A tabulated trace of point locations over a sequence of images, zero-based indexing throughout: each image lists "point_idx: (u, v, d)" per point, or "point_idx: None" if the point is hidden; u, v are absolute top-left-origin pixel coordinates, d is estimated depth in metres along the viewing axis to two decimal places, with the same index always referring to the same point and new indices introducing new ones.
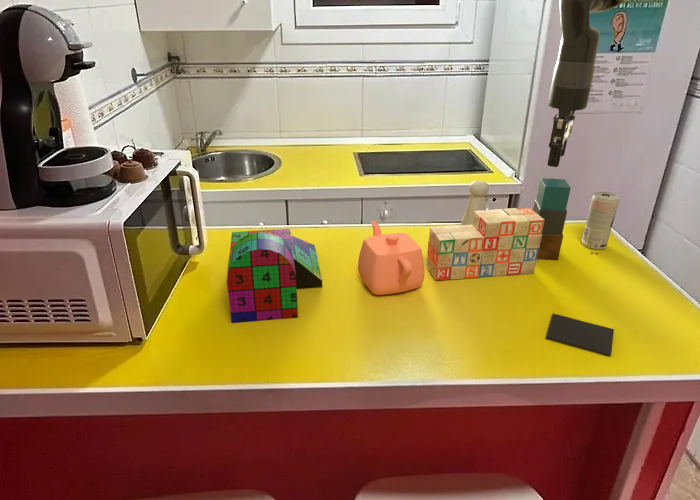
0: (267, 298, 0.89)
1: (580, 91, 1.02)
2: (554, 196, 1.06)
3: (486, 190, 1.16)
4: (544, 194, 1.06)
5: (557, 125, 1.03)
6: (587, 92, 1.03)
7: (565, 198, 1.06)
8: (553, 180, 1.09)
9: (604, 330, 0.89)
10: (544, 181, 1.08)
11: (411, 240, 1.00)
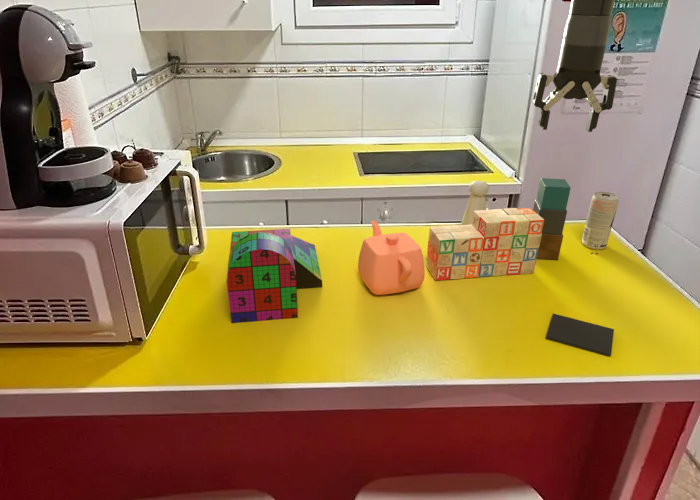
0: (267, 298, 0.89)
1: (569, 47, 0.93)
2: (554, 196, 1.06)
3: (486, 190, 1.16)
4: (544, 194, 1.06)
5: (538, 80, 0.99)
6: (579, 50, 0.92)
7: (565, 198, 1.06)
8: (553, 180, 1.09)
9: (604, 330, 0.89)
10: (544, 181, 1.08)
11: (411, 240, 1.00)
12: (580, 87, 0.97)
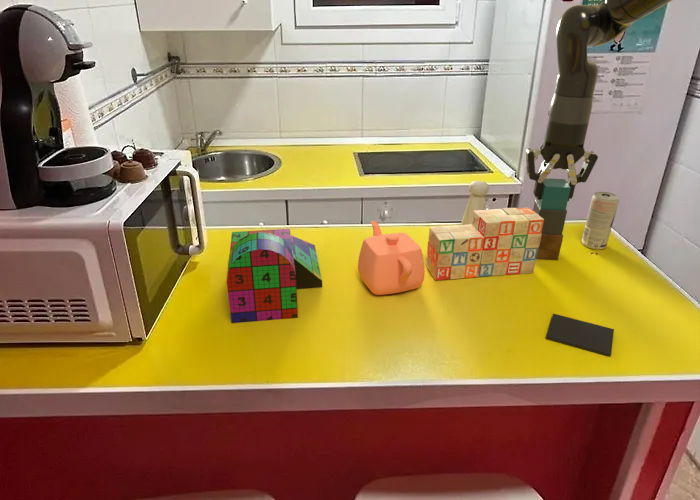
0: (267, 298, 0.89)
1: (554, 124, 1.00)
2: (554, 196, 1.06)
3: (486, 190, 1.16)
4: (544, 194, 1.06)
5: (526, 156, 1.06)
6: (563, 128, 0.99)
7: (565, 198, 1.06)
8: (553, 180, 1.09)
9: (604, 330, 0.89)
10: (544, 181, 1.08)
11: (411, 240, 1.00)
12: (564, 157, 1.04)
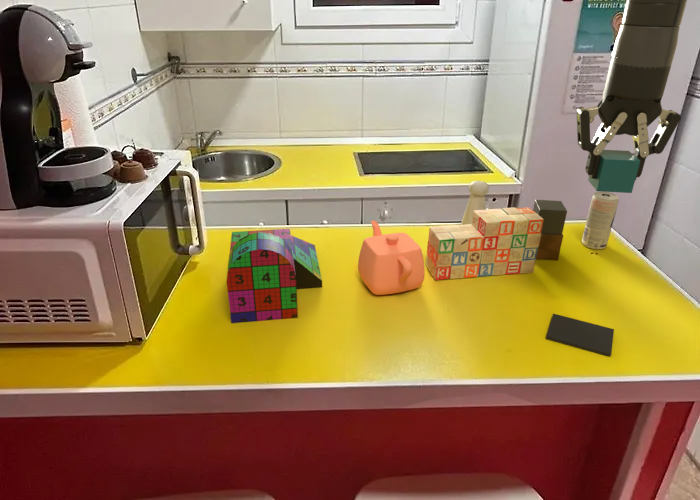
0: (267, 298, 0.89)
1: (621, 69, 0.70)
2: (617, 173, 0.76)
3: (486, 190, 1.16)
4: (602, 170, 0.76)
5: (577, 117, 0.76)
6: (636, 73, 0.69)
7: (632, 176, 0.76)
8: (613, 151, 0.79)
9: (604, 330, 0.89)
10: (601, 153, 0.78)
11: (411, 240, 1.00)
12: (633, 118, 0.74)
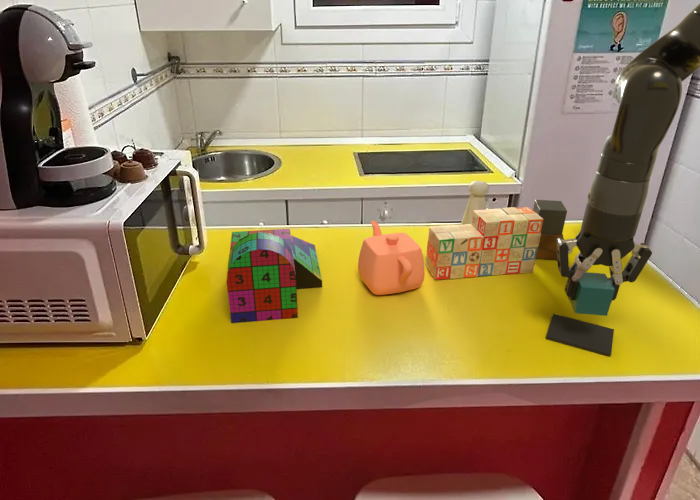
0: (267, 298, 0.89)
1: (597, 213, 0.76)
2: (593, 299, 0.82)
3: (486, 190, 1.16)
4: (580, 296, 0.82)
5: (557, 247, 0.82)
6: (610, 219, 0.75)
7: (607, 302, 0.82)
8: (590, 275, 0.85)
9: (604, 330, 0.89)
10: None
11: (411, 240, 1.00)
12: (608, 252, 0.80)
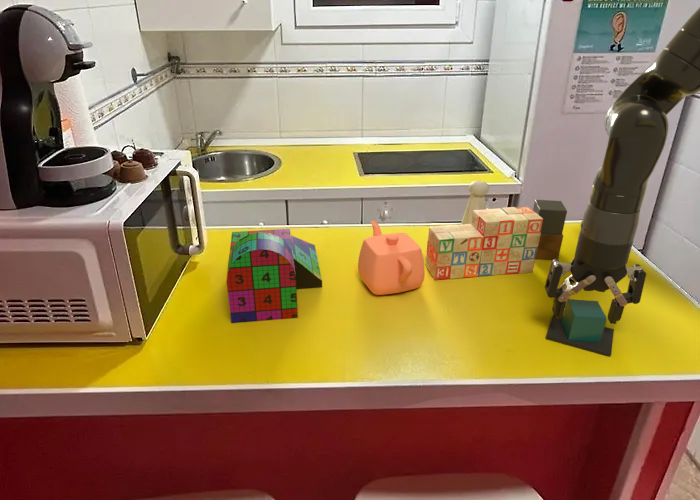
0: (267, 298, 0.89)
1: (589, 242, 0.78)
2: (586, 327, 0.85)
3: (486, 190, 1.16)
4: (573, 324, 0.85)
5: (551, 267, 0.84)
6: (602, 248, 0.77)
7: (599, 329, 0.84)
8: (583, 302, 0.87)
9: (604, 330, 0.89)
10: (572, 305, 0.86)
11: (411, 240, 1.00)
12: (602, 280, 0.82)
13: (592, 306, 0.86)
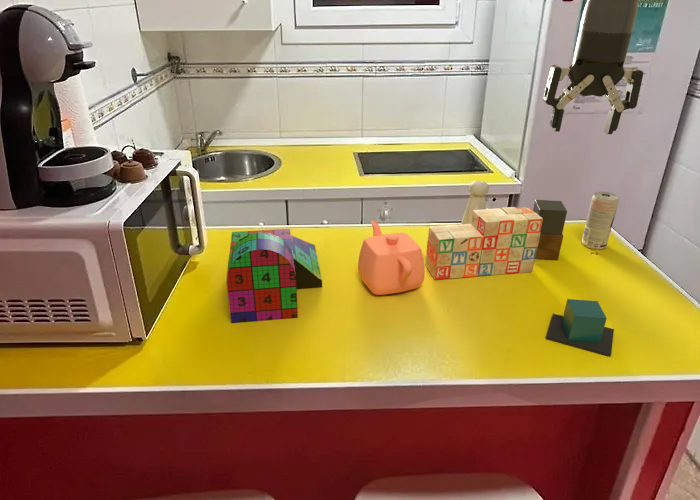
0: (267, 298, 0.89)
1: (588, 35, 0.79)
2: (586, 327, 0.85)
3: (486, 190, 1.16)
4: (573, 324, 0.85)
5: (550, 73, 0.85)
6: (601, 38, 0.78)
7: (599, 329, 0.84)
8: (583, 302, 0.87)
9: (604, 330, 0.89)
10: (572, 305, 0.86)
11: (411, 240, 1.00)
12: (600, 82, 0.83)
13: (592, 306, 0.86)
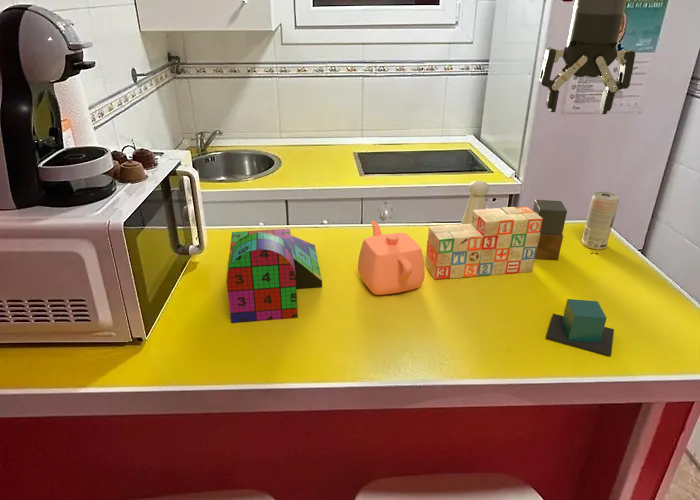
0: (267, 298, 0.89)
1: (581, 17, 0.82)
2: (586, 327, 0.85)
3: (486, 190, 1.16)
4: (573, 324, 0.85)
5: (545, 55, 0.88)
6: (593, 20, 0.81)
7: (599, 329, 0.84)
8: (583, 302, 0.87)
9: (604, 330, 0.89)
10: (572, 305, 0.86)
11: (411, 240, 1.00)
12: (593, 63, 0.86)
13: (592, 306, 0.86)
